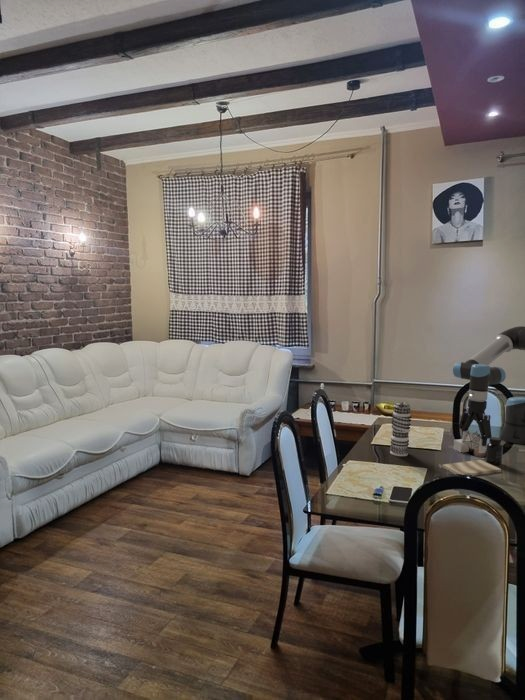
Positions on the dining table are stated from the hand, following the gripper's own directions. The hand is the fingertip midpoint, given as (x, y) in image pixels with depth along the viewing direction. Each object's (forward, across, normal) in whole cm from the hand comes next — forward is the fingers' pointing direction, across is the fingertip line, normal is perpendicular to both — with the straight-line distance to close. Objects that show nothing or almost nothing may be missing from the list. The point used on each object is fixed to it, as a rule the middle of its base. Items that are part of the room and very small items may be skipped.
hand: (473, 448), depth 218 cm
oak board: (+10, 0, 0) cm, 10 cm away
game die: (0, 0, 0) cm, 0 cm away
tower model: (+10, -27, -19) cm, 34 cm away
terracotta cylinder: (+9, -14, +18) cm, 25 cm away
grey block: (+10, -22, +14) cm, 28 cm away
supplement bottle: (+10, -3, +16) cm, 19 cm away
